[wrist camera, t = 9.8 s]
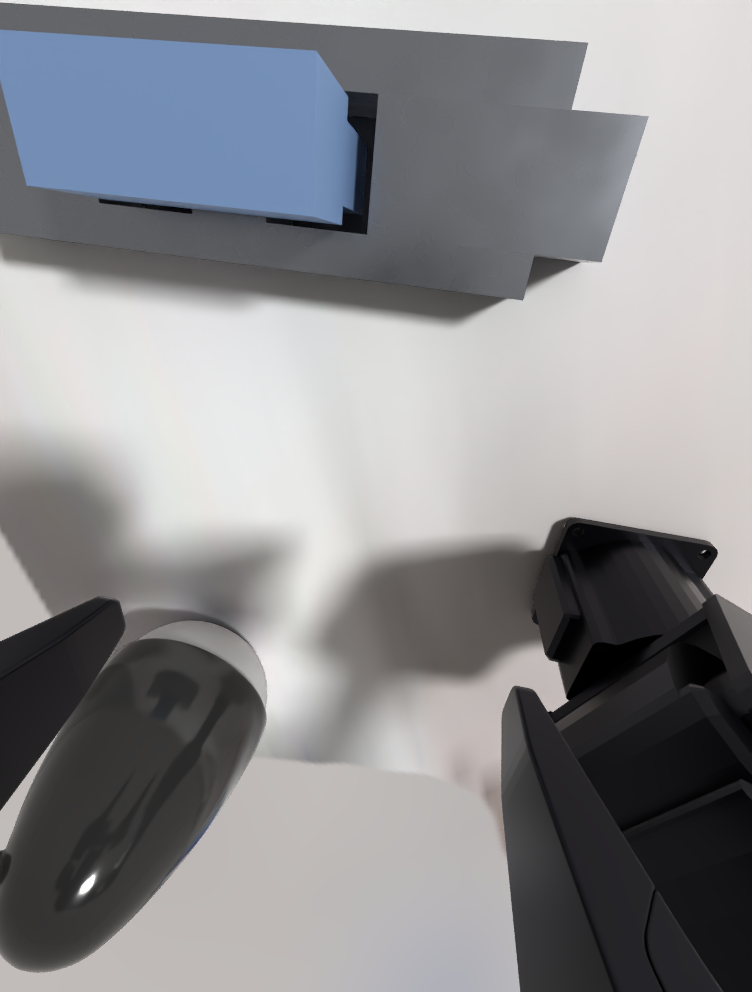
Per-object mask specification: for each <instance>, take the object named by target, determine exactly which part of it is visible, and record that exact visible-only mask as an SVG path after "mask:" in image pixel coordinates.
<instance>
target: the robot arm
mask: <svg viewBox="0 0 752 992" xmlns="http://www.w3.org/2000/svg"><path fill="white" fill-rule="evenodd" d="M577 527H580V528H582V529H581V530H580V531H578V532H573V529H574V528H577ZM703 550H706V551H705V552H704V553H702V554H699V553H700V552H701V551H703ZM717 554H718V552H717V549H716V548H715V547H714V546H713V545H712V544H711V543H710V542H708V541H705V540H700V539H694V538H688V537H683V536H677V535H671V534H666V533H660V532H654V531H649V530H643V529H637V528H632V527H626V526H620V525H615V524H609V523H603V522H598V521H592V520H586V519H581V518H574V519H571V520H569V521H568V522H567V523H566V525H565V527H564V529H563V532H562V534H561V537H560V539H559V542H558V545H557V547H556V550H555V552H554V555H551V556H549V557H548V558H547V559H546V561H545V564H544V566H543V569H542V571H541V574H540V577H539V579H538V582H537V584H536V587H535V590H534V592H533V600H534V606H533V608H532V611H531V616H532V620H533V622H534V623H536V624H538V625H539V628H540V633H541V637H542V642H543V647H544V651H545V655H546V656H547V658H548V659H549V660H551V661H555V662H558V666H559V670H560V674H561V678H562V682H563V686H564V690H565V694H566V698H567V699H568V700H569V701H568V702H567V703H565V704H564V705H562V706H561V707H560V708H558V709H557V710H555V711H554V712H551V711H549V712H547V710H546V709H545V707H544V705H543V704H542V702H541V700H540V699H539V697H538V696H537V694H536V693H535V691H533V690H532V689H529V688H525V687H520V686H514V687H513V688H512V689H511V691H510V694H509V696H508V698H507V701H506V703H505V706H504V708H503V712H502V745H501V798H502V811H503V822H504V832H505V842H506V852H507V862H508V871H509V882H510V891H511V902H512V912H513V922H514V932H515V942H516V953H517V963H518V973H519V983H520V992H752V615H751V614H749V613H748V612H746V611H744V610H743V609H741V608H739V607H738V606H736V605H734V604H733V603H731V602H730V601H728V600H726V599H725V598H723V597H721V596H720V595H718V594H715V595H713V593H712V592H711V591H710V589H709V588H708V587H707V585H706V584H705V583H704V582H703V580H702V579H703V577H704V576H705V574H706V573H707V571H708V570H709V568H710V566H711V565H712V563H713V562H714V560H715V559H716V557H717ZM124 630H125V620H124V616H123V613H122V609H121V605H120V602H119V601H118V600H117V599H114V598H109V597H105V596H99V597H96V598H94V599H91V600H89V601H87V602H85V603H83V604H81V605H78V606H76V607H74V608H72V609H70V610H68V611H65V612H63V613H61V614H59V615H57V616H55V617H52V618H50V619H48V620H46V621H44V622H41V623H39V624H37V625H35V626H33V627H31V628H28V629H26V630H24V631H22V632H20V633H18V634H15V635H13V636H11V637H9V638H7V639H5V640H2V641H0V810H1V809H2V808H3V806H4V805H5V804H6V802H7V801H8V800H9V798H10V797H11V796H12V794H13V793H14V792H15V790H16V789H17V787H18V786H19V785H20V783H21V782H22V781H23V779H24V778H25V777H26V775H27V774H28V773H29V771H30V770H31V769H32V767H33V766H34V765H35V763H36V762H37V761H38V759H39V758H40V756H41V755H42V754H43V752H44V751H45V750H46V748H47V747H48V746H49V744H50V743H51V742H52V740H53V739H54V738H55V736H56V735H57V734H58V732H59V731H60V730H61V728H62V727H63V726H64V724H65V723H66V722H67V720H68V719H69V717H70V716H71V715H72V713H73V712H74V711H75V709H76V708H77V707H78V705H79V704H80V702H81V701H82V700H83V698H84V697H85V695H86V694H87V692H88V691H89V689H90V688H91V686H92V684H93V683H94V681H95V680H96V678H97V676H98V675H99V673H100V671H101V670H102V668H103V666H104V665H105V663H106V662H107V660H108V658H109V657H110V655H111V653H112V652H113V650H114V648H115V647H116V645H117V643H118V642H119V640H120V639H121V637H122V635H123V633H124Z"/></svg>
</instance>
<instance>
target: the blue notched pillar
mask: <svg viewBox="0 0 752 992" xmlns="http://www.w3.org/2000/svg"><path fill="white" fill-rule="evenodd" d="M0 82H1V86H2V90H3V94H4V98H5V102H6V106H7V110H8V114H9V117H10V121H11V125H12V129H13V133H14V137H15V141H16V145H17V149H18V153H19V157H20V161H21V165H22V169H23V173H24V177H25V181H26V185H27V186H32V187H38V188H44V189H49V190H55V191H61V192H67V193H72V194H78V195H84V196H89V197H95V198H101V199H107V200H116V201H125V202H134V203H143V204H152V205H161V206H171V207H180V208H189V209H198V210H207V211H216V212H226V213H235V214H244V215H253V216H262V217H271V218H281V219H290V220H299V221H308V222H317V223H326V224H335V225H342V214H343V213H347V214H356V215H363V201H364V187H365V173H366V158H367V145H366V143H365V142H364V141H363V140H362V138H361V137H360V136H359V135H358V134H357V132H356V131H355V130H354V129H353V127H352V126H351V125H350V124H349V122H348V121H347V114H348V96H347V94H346V93H345V92H344V90H343V89H342V87H341V86H340V84H339V83H338V81H337V80H336V78H335V77H334V76H333V74H332V73H331V71H330V70H329V68H328V67H327V65H326V64H325V62H324V61H323V59H322V58H321V57H320V55H319V54H318V52H317V51H313V50H298V49H283V48H268V47H253V46H238V45H223V44H208V43H193V42H178V41H163V40H148V39H133V38H118V37H103V36H88V35H73V34H58V33H43V32H28V31H13V30H0Z"/></svg>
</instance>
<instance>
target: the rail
mask: <svg viewBox="0 0 752 992" xmlns="http://www.w3.org/2000/svg"><path fill="white" fill-rule="evenodd" d="M0 30H13V31H28V32H43V33H58V34H73V35H88V36H103V37H118V38H133V39H148V40H163V41H178V42H193V43H208V44H223V45H238V46H253V47H268V48H283V49H298V50H313V51H317V52H318V54H319V55H320V57H321V58H322V59H323V61H324V62H325V64H326V65H327V67H328V68H329V70H330V71H331V73H332V74H333V76H334V77H335V78H336V80H337V81H338V83H339V84H340V86H341V87H342V89H343V90H344V92H345V93H346V94H347V96H348V114H347V116H357V117H369V118H376V130H375V142H374V154H373V167H372V179H371V191H370V204H369V216H368V229H367V235H366V234H357V233H349V232H340V231H332V230H323V229H315V228H306V227H298V226H292V220H290V219H281V218H271V217H262V216H253V215H244V214H235V213H226V212H216V211H207V210H198V209H192V214H188V213H179V212H171V211H162V210H154V209H146V207H145V204H143V203H134V202H125V201H116V200H107V199H101V198H95V197H89V196H84V195H78V194H72V193H67V192H61V191H55V190H49V189H44V188H38V187H32V186H27V185H26V181H25V177H24V173H23V169H22V165H21V161H20V157H19V153H18V149H17V145H16V141H15V137H14V133H13V129H12V125H11V121H10V117H9V114H8V110H7V106H6V102H5V98H4V94H3V90H2V86H1V82H0V233H4V234H12V235H20V236H27V237H35V238H43V239H51V240H58V241H66V242H74V243H82V244H90V245H97V246H105V247H113V248H121V249H128V250H136V251H144V252H152V253H160V254H167V255H175V256H183V257H191V258H198V259H206V260H214V261H222V262H230V263H237V264H245V265H253V266H261V267H268V268H276V269H284V270H292V271H300V272H307V273H315V274H323V275H331V276H338V277H346V278H354V279H362V280H369V281H377V282H385V283H393V284H401V285H408V286H416V287H424V288H432V289H439V290H447V291H455V292H463V293H471V294H478V295H486V296H494V297H502V298H509V299H517V300H523V298H524V294H525V290H526V286H527V282H528V278H529V275H530V271H531V267H532V263H533V259H534V257H541V258H550V259H558V260H567V261H575V262H602V259H603V256H604V253H605V250H606V246H607V243H608V240H609V237H610V234H611V231H612V228H613V225H614V222H615V219H616V216H617V212H618V209H619V206H620V203H621V200H622V197H623V194H624V191H625V188H626V185H627V182H628V179H629V175H630V172H631V169H632V166H633V163H634V160H635V157H636V154H637V151H638V148H639V145H640V142H641V138H642V135H643V132H644V129H645V126H646V123H647V120H648V117H649V116H637V115H625V114H614V113H602V112H590V111H578V110H571V109H572V105H573V101H574V97H575V93H576V89H577V85H578V81H579V77H580V73H581V69H582V65H583V61H584V57H585V54H586V50H587V46H588V43H584V42H569V41H554V40H540V39H525V38H510V37H496V36H481V35H467V34H452V33H437V32H423V31H408V30H394V29H379V28H364V27H350V26H335V25H320V24H306V23H291V22H277V21H262V20H247V19H233V18H218V17H204V16H189V15H174V14H160V13H145V12H130V11H116V10H101V9H87V8H72V7H57V6H43V5H28V4H14V3H0Z"/></svg>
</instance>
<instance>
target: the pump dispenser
mask: <svg viewBox="0 0 752 992" xmlns="http://www.w3.org/2000/svg"><path fill="white" fill-rule="evenodd" d="M266 702H267V682H266V676H265V672H264V669H263V666H262V664H261V662H260V660H259V658H258V656H257V655H256V653H255V652H254V650H253V649H252V648H251V647H250V646H249V644H248V643H246V642H245V641H244V640H243V639H242V638H241V637H239V636H238V635H237V634H235V633H234V632H232V631H230V630H228V629H226V628H224V627H222V626H219V625H216V624H213V623H209V622H204V621H179V622H174V623H170V624H167V625H164V626H161V627H159V628H156V629H154V630H152V631H150V632H149V633H147V634H145V635H144V636H142V637H141V638H139V639H138V640H136V641H133V642H130V643H128V644H126V645H124V646H123V647H121V648H120V649H119V650H118V651H117V652H116V653H115V654H114V655H113V656H112V657H111V658H110V659H109V661H108V662H107V663H106V664H105V665H104V667H103V668H102V670H101V671H100V673H99V675H98V676H97V678H96V680H95V681H94V683H93V684H92V686H91V688H90V689H89V691H88V692H87V694H86V695H85V697H84V698H83V700H82V701H81V702H80V704H79V705H78V707H77V708H76V709H75V711H74V712H73V713H72V715H71V716H70V717H69V719H68V720H67V722H66V723H65V724H64V726H63V727H62V728H61V730H60V732H59V733H58V735H57V737H56V738H55V740H54V742H53V744H52V746H51V747H50V749H49V751H48V753H47V755H46V757H45V759H44V761H43V762H42V764H41V766H40V769H39V771H38V772H37V774H36V776H35V779H34V781H33V783H32V785H31V787H30V789H29V791H28V793H27V796H26V798H25V800H24V803H23V805H22V807H21V810H20V813H19V815H18V818H17V821H16V824H15V827H14V829H13V832H12V834H11V837H10V839H9V842H8V845H7V847H6V849H4V850H1V851H0V954H1V956H2V957H3V958H4V959H5V960H6V961H7V962H8V963H9V964H11V965H12V966H14V967H15V968H17V969H20V970H23V971H27V972H37V973H39V972H50V971H55V970H59V969H62V968H65V967H68V966H71V965H73V964H75V963H77V962H79V961H81V960H83V959H85V958H86V957H88V956H89V955H91V954H92V953H93V952H95V951H96V950H97V949H99V948H100V947H101V946H102V945H103V944H105V943H106V942H107V941H108V940H109V939H111V938H112V937H113V936H114V935H115V934H116V933H117V932H118V931H119V930H120V929H122V928H123V927H124V926H125V925H126V924H127V922H129V921H130V920H131V919H132V918H133V917H134V916H135V915H136V914H137V913H138V912H139V910H141V909H142V907H143V906H144V905H145V904H146V903H147V902H148V901H149V900H150V899H151V898H152V896H153V895H154V894H155V893H156V892H157V891H158V890H159V889H160V888H161V886H162V885H163V884H164V883H165V882H166V881H167V880H168V878H169V877H170V876H171V875H172V874H173V872H174V871H175V870H176V869H177V868H178V866H179V865H180V864H181V863H182V862H183V860H184V859H185V858H186V857H187V855H188V854H189V853H190V851H191V850H192V849H193V848H194V846H195V845H196V844H197V842H198V841H199V840H200V838H201V837H202V836H203V835H204V833H205V832H206V830H207V829H208V828H209V826H210V825H211V823H212V822H213V821H214V819H215V818H216V816H217V815H218V813H219V812H220V810H221V809H222V807H223V806H224V804H225V803H226V801H227V799H228V798H229V796H230V794H231V793H232V791H233V789H234V788H235V786H236V784H237V783H238V781H239V779H240V778H241V776H242V774H243V772H244V770H245V769H246V767H247V765H248V763H249V762H250V760H251V758H252V756H253V754H254V752H255V750H256V748H257V746H258V744H259V742H260V740H261V737H262V735H263V732H264V730H265V726H266V710H265V709H266Z"/></svg>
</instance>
